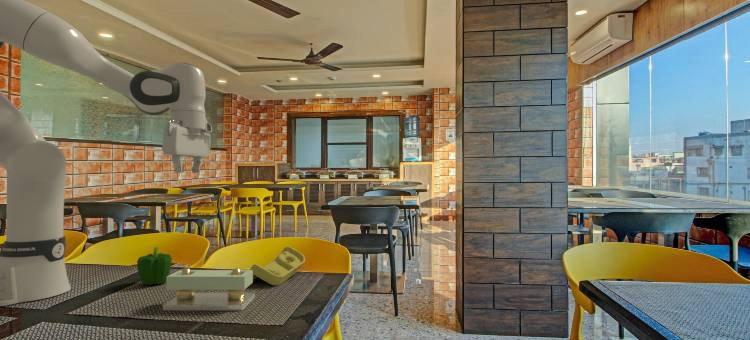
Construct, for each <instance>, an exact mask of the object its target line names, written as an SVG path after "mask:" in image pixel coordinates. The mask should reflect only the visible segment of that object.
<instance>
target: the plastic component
mask: <svg viewBox="0 0 750 340" xmlns="http://www.w3.org/2000/svg"><path fill="white" fill-rule="evenodd" d="M305 261H306V256H305V255H304V254H303V253H302V252H300V251H298V250H297V249H295V248H293V247H292V246H286V247H284V248H283V249H282V251H280V253H279V254H278V255H277V256H276V257H275V258H274V259H273V260H272V261H270V262H269V263H267V264H266V265H264V266H261V265H260V264H257V263H254V264H252V265H251V267H250V269H249V270H253V281H254V280H255V279H257V278H259V279H261V280H262V281H264V282H266V283H267V284H270V285H271V286H279V285H280V286H281V285H282V284H284V283H285V282H286V281H288V280H289V279H291V278H292V277H294V275H295V274H296V273H297V271H298V270H300V268H301V267H302V266H303V265H304V263H305Z"/></svg>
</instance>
